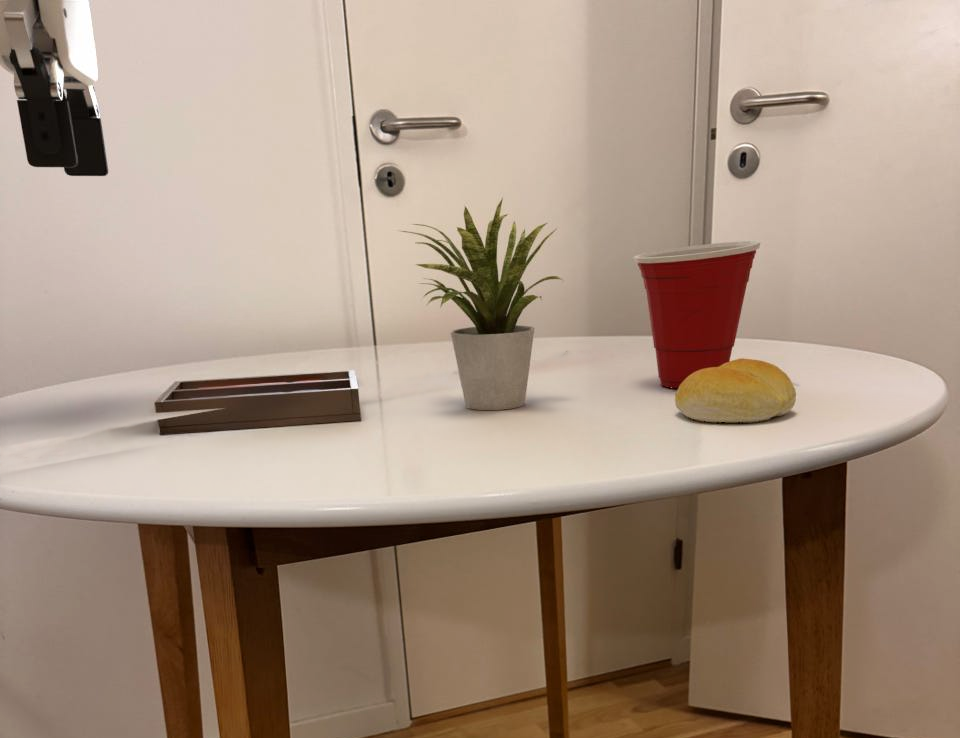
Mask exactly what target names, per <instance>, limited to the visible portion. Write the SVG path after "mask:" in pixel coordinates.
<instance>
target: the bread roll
mask: <svg viewBox="0 0 960 738" xmlns="http://www.w3.org/2000/svg"><path fill="white" fill-rule="evenodd" d="M796 396H797V391H796V388H795V386H794V383H793V382H792V380H791V379H790V377H789V375H787V373H785V371H784V370H782V369H781V368H780V367H778V365H777V366H776V365H775V364H773V363H770V362H767V361H764V360H759V359H753V358H737V359H733V360H730V361H729V362H727V363H724V364H722V365H721V366H719V367H711V368H704V369H701V370H698V371H696V372H694V373H692V374H691V375H689V376H688V377H687V378H686V379H685V380H684V381H683V382H682V383H681V384H680V386H679V388H678V389H676V392H675V396H674V397H675V398H674V402H675V403H674V404H675V407H676V409H677V410H678V411H679V412H680V413H681V414H682V415H683V416H685V417H687V418H688V417H689V418H688V419H690V418H691V419H690V420H693V419H694V421H698V422H704V421H705V422H706V423H717V422H719V423H720V424H722V423H721V422H725V423H724V424H728V423H729V424H734V423H736V424H738V422H740V423H741V424H742V422H743V423H744V424H745V423H746V424H747V422H748V423H760V422H762V421H763V422H764V421H768V420H771V418H773V417H780V416H784V415H786V414H787V413H788V412H790V411H791V410H792V409H793V407H794V406H795V404H796V401H797V397H796ZM759 421H760V422H759Z"/></svg>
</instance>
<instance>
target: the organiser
mask: <svg viewBox="0 0 960 738" xmlns="http://www.w3.org/2000/svg"><path fill="white" fill-rule="evenodd" d="M304 380H322V381H307V382H296V381H304ZM279 382H286V383H279ZM264 383H276V384H264ZM249 384H261V385H249ZM233 385H246V386H233ZM218 386H231V387H218ZM203 387H216V388H203ZM198 388H200V389H198ZM300 390H314V391H300ZM293 391H299V392H293ZM276 392H284V393H276ZM261 393H269V394H261ZM246 394H255V395H246ZM231 395H240V396H231ZM216 396H225V397H216ZM201 397H210V398H201ZM190 398H195V399H190ZM360 403H361V402H360V392H359V386H358V380H357V376H356V371H355V369H347V370H331V371H330V370H329V371H317V372H316V371H315V372H301V373H287V374H286V373H285V374H270V375H269V374H268V375H254V376H239V377H223V378H209V379H207V378H206V379H194V380H193V379H192V380H178V381H176V380H175V381H174V382H173V383H172V384H171V385H169V387H168V388H167V389H166V390H165V391H164V392H163V393H162V394H161V395H160V397H158V398H157V399H156V400H155V401H154V402H153V404H154V409H155V414H157V413H158V414H161V413H175V412H177V413H178V412H189V411H190V412H191V411H201V412H196V413H195V412H194V413H187V414H183V415H178V416H172V417H165V418H159V419H157V421H156V422H157V425H158V431H159V435H161V436H163V435H177V434H178V435H179V434H192V433H205V432H207V433H208V432H219V431H220V432H221V431H232V430H233V431H234V430H247V429H248V430H249V429H260V428H261V429H263V428H274V427H275V428H277V427H288V426H289V427H290V426H304V425H316V424H330V423H331V424H332V423H345V422H361V421H362V416H361V415H362V414H361V413H362V412H361V404H360ZM204 410H207V411H204Z"/></svg>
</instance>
